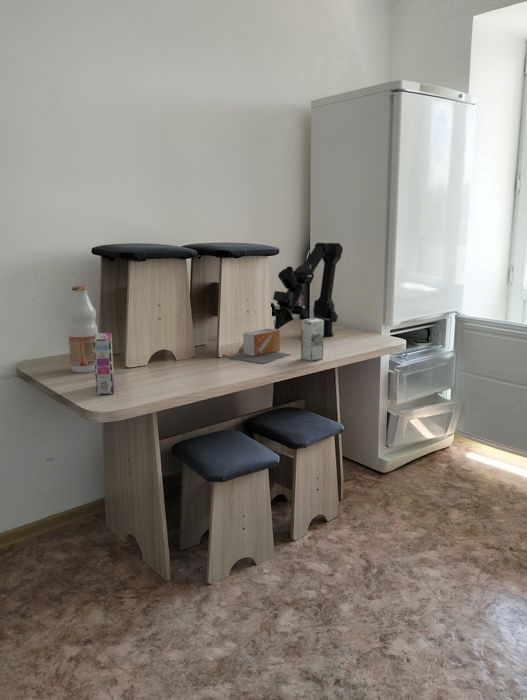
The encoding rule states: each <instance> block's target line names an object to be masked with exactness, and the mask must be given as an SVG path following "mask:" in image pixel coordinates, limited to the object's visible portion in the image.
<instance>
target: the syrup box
mask: <svg viewBox="0 0 527 700" xmlns="http://www.w3.org/2000/svg"><path fill="white" fill-rule="evenodd" d="M300 337H301V338H300V341H301V342H300V343H301V347H300V348H301V349H300V359H302V358H303V359H302V360H305V359H306V360H305V361H308V360H309V361H308V362H314V360H315V361H320V359H321V360H324V337H325V336H324V321H323V320H321V319H318V318H314V317H312V318H308V319H303V320H301V336H300Z"/></svg>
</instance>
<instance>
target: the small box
mask: <svg viewBox="0 0 527 700" xmlns="http://www.w3.org/2000/svg"><path fill="white" fill-rule="evenodd" d="M242 337H243V341H242V344H243V345H242V346H243V352H244V354H246V355H251V356H258V355H263V354H268V353H272V352H280V351H281V345H280V343H281V341H280V330H279V329H275V328H274V329H273V328H265V329H259V330H253V331H247V332H243V333H242Z"/></svg>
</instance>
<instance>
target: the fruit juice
mask: <svg viewBox="0 0 527 700" xmlns="http://www.w3.org/2000/svg"><path fill="white" fill-rule="evenodd" d="M88 291H89V288H88V286H87V285H75V286H72V287H71V292H72V298H71V300H70V301H71V302H70V305H69V307H68V309H67V312H66V316H67V321H68V323H69V324H68V328H67V334H68V345H69V356H70V359H69V360H70V368H71V371H72V372H74V373H79V374H81V373H82V374H85V373H92V372H95V358H94V342H93V340H94V337H95V334H96V333H99V331H98V329H99V328H98V325H97V323H96V318H97V311H96V309H95V307H94V305H93V304H92V302H91V299H90V297H89V295H88Z"/></svg>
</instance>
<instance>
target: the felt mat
mask: <svg viewBox="0 0 527 700" xmlns="http://www.w3.org/2000/svg"><path fill="white" fill-rule="evenodd" d="M234 355H235V356H233V355H230V356H231V357H230V356H227V359H232V360H237V361H242V362H243V361H244V362H249V363H255V364H260V365H265V364H268V363H272V362H273V360H274V361H277V360H279V358H280V359H282V357H283V358H285V357H284V356H286V357H288V356H287V355H289V356H291V353H286V352H280V351H277V352H272V353H268V354H263V355H258V356H251V355H246V354H244V351H243V352H240V353H238V355H236V354H234ZM276 359H277V360H276Z"/></svg>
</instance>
